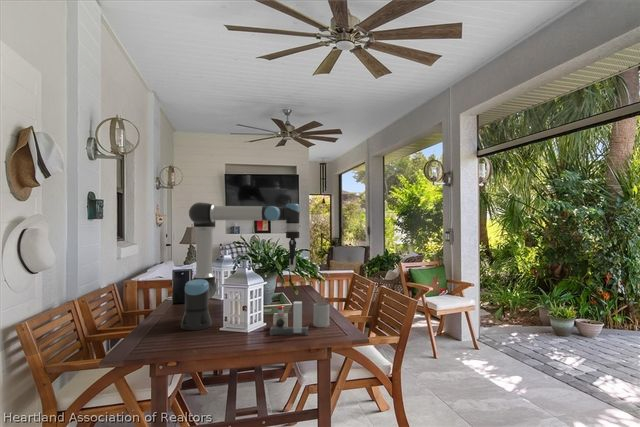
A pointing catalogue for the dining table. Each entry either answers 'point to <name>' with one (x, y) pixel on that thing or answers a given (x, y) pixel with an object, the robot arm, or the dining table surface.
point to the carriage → (297, 317)
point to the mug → (321, 315)
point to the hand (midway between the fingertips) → (292, 269)
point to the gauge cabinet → (280, 320)
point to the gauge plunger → (280, 310)
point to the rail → (287, 331)
